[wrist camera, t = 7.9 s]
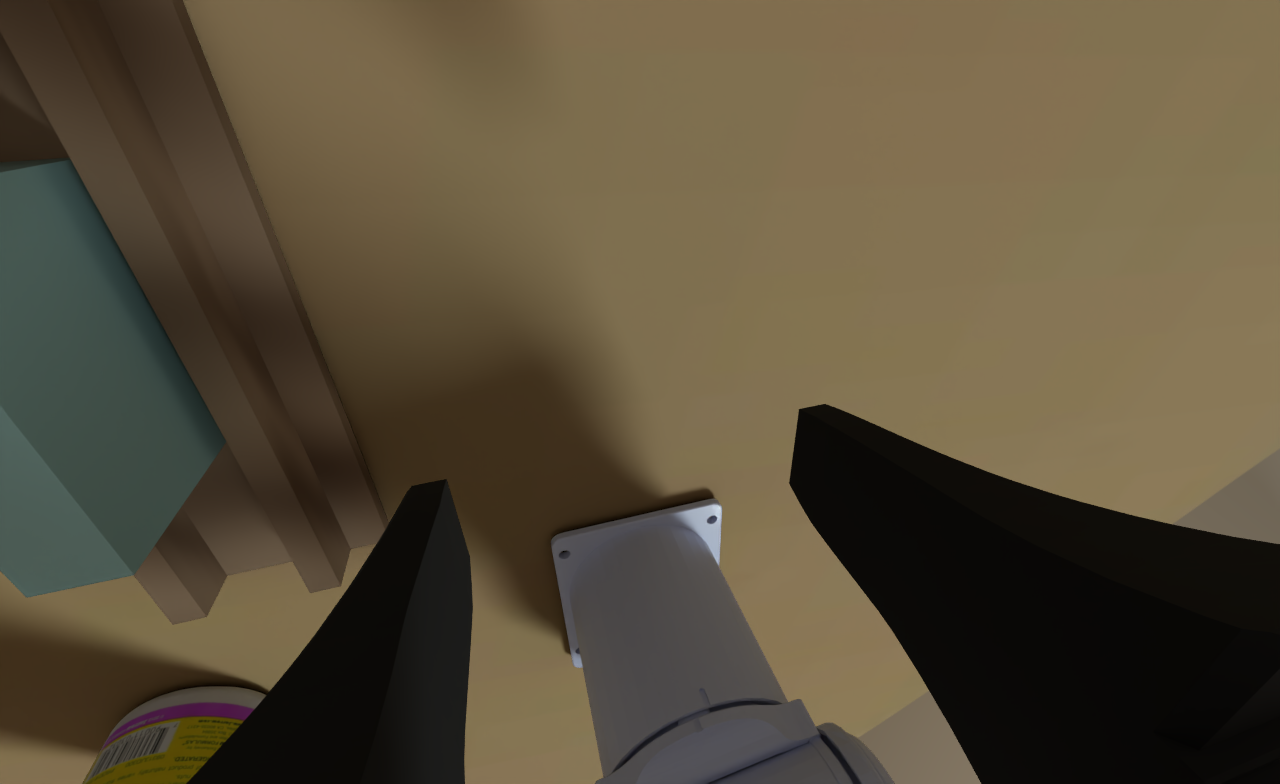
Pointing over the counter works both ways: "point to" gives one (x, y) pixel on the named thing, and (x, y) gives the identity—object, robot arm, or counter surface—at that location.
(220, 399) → the track
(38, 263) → the teal rectangular block
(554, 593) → the counter surface
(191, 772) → the supplement bottle
